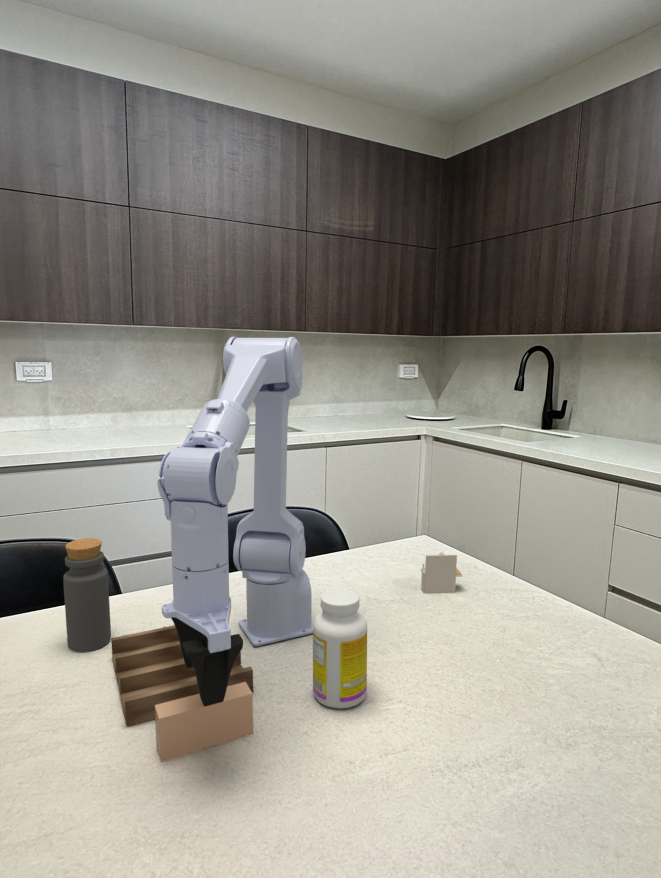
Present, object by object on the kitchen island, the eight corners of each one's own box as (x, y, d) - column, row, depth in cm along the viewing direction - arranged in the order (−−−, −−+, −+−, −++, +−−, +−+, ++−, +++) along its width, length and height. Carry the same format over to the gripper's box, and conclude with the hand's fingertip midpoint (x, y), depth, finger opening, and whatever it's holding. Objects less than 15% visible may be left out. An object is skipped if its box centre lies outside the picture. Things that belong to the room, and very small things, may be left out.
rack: (218, 634, 84) (218, 616, 84) (253, 692, 70) (253, 670, 69) (112, 658, 77) (111, 637, 77) (126, 726, 63) (125, 702, 63)
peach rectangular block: (246, 721, 65) (245, 681, 64) (253, 735, 62) (252, 693, 62) (156, 747, 60) (154, 705, 59) (160, 763, 58) (158, 718, 57)
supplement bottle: (372, 685, 72) (374, 589, 70) (357, 716, 65) (359, 612, 64) (323, 675, 74) (323, 582, 72) (304, 704, 68) (304, 603, 66)
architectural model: (419, 588, 103) (420, 549, 102) (456, 587, 103) (457, 548, 102) (423, 596, 99) (425, 555, 98) (461, 595, 100) (463, 555, 99)
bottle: (95, 654, 78) (89, 551, 76) (58, 650, 79) (51, 548, 77) (119, 634, 84) (114, 538, 82) (84, 630, 85) (78, 535, 83)
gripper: (149, 545, 63) (154, 658, 65) (175, 595, 50) (179, 733, 52) (211, 537, 66) (214, 645, 68) (251, 581, 53) (252, 713, 55)
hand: (203, 682), depth 60 cm, fingers open, 7 cm apart
